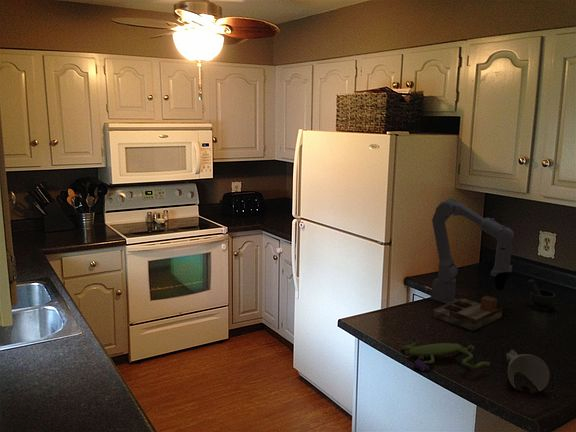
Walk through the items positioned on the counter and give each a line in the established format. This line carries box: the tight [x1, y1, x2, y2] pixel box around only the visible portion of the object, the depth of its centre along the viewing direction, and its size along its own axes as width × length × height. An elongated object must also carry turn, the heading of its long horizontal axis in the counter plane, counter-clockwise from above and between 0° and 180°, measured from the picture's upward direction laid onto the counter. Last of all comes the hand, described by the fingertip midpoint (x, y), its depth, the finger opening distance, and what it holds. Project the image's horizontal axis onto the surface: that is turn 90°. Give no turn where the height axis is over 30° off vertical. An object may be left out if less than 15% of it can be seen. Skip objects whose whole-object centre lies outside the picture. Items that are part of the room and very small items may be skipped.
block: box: [480, 295, 498, 312], centre depth 210 cm, size 4×4×4 cm
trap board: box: [431, 297, 504, 332], centre depth 208 cm, size 18×22×5 cm
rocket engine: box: [505, 349, 551, 392], centre depth 162 cm, size 12×12×18 cm
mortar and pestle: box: [527, 278, 557, 312], centre depth 219 cm, size 11×9×12 cm
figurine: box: [401, 341, 491, 372], centre depth 171 cm, size 18×27×6 cm
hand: (499, 289), depth 214 cm, fingers closed
